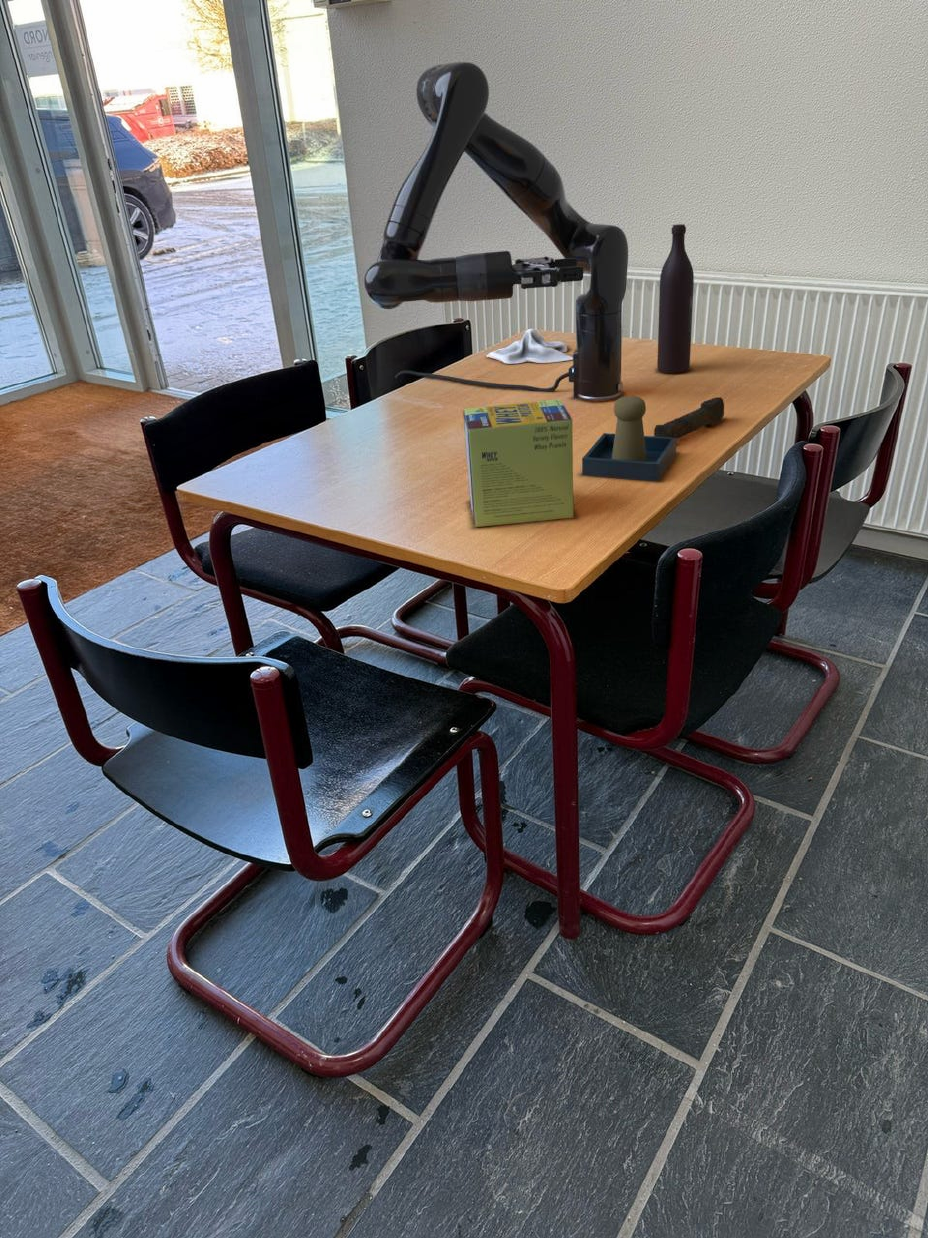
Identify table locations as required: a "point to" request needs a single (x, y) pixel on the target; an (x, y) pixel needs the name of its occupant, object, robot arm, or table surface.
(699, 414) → the rusty railroad spike
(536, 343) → the cloth
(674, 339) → the wine bottle
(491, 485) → the protein box
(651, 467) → the caddy
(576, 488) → the table surface
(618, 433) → the cork
